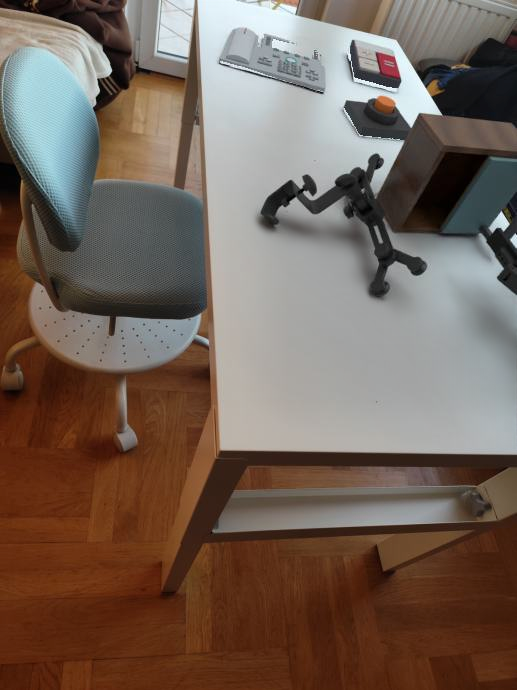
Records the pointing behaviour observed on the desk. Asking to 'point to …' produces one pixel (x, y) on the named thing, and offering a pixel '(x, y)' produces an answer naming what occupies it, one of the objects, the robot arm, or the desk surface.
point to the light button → (384, 104)
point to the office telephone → (273, 59)
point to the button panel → (374, 64)
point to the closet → (440, 169)
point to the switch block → (377, 120)
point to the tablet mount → (350, 214)
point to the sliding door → (485, 199)
